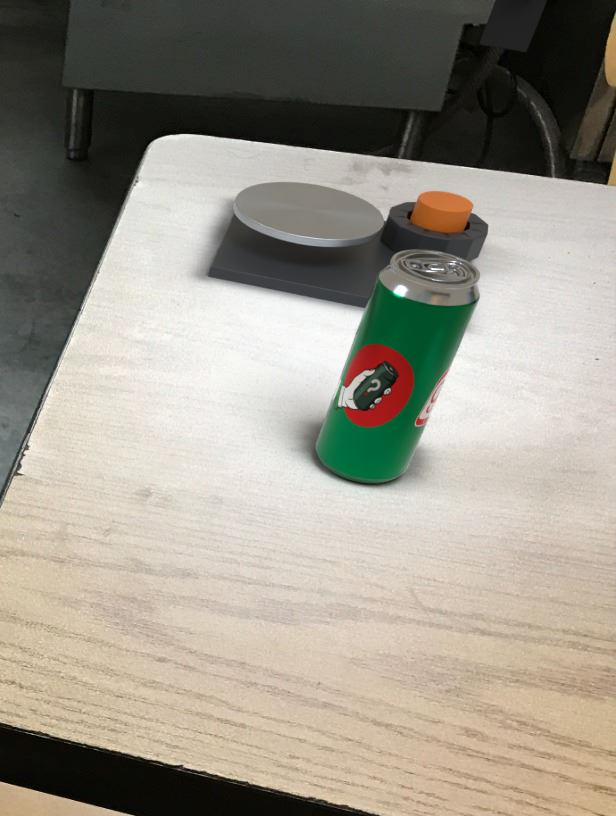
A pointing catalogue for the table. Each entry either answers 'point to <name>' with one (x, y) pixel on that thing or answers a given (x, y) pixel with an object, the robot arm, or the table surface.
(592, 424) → the table surface
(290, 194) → the weighing pan
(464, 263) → the soda can
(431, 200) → the tare button
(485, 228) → the scale
